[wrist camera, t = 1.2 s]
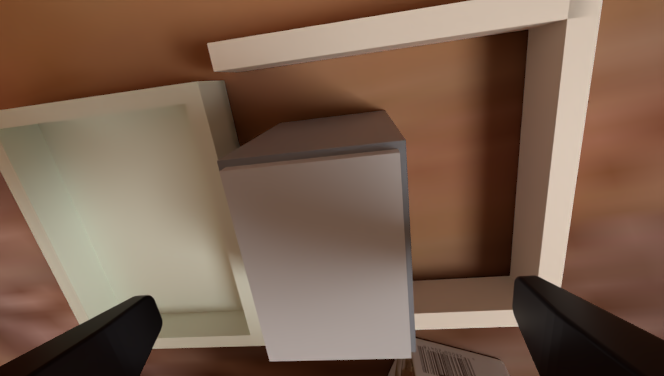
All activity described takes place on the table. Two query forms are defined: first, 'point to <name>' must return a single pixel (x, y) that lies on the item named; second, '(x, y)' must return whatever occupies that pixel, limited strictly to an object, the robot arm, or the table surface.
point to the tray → (136, 206)
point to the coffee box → (446, 362)
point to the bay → (536, 128)
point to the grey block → (326, 237)
